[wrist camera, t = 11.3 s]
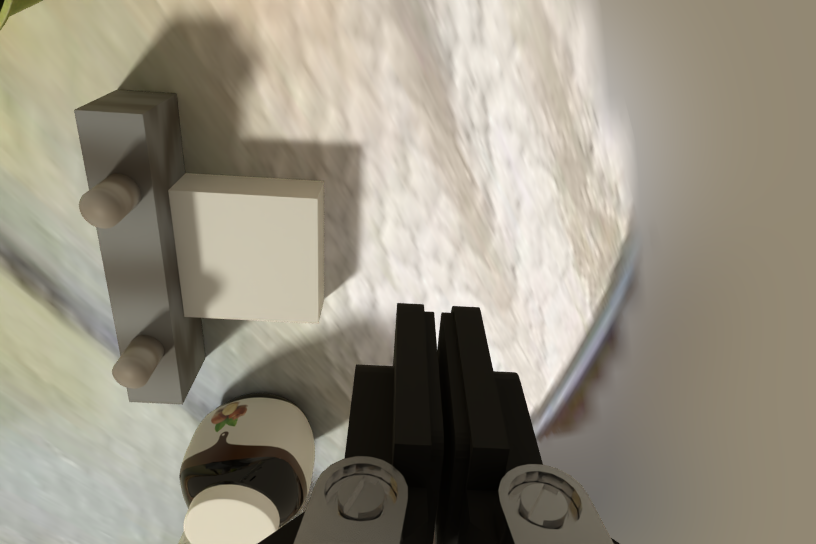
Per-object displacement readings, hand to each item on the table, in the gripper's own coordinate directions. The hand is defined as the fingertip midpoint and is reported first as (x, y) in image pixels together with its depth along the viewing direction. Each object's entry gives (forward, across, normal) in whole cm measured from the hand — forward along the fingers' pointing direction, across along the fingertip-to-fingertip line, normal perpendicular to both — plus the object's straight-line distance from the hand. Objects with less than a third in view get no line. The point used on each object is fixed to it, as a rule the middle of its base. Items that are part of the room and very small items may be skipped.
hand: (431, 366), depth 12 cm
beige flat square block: (+32, +11, +13) cm, 37 cm away
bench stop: (+32, +18, +13) cm, 39 cm away
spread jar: (+32, +12, +33) cm, 48 cm away
